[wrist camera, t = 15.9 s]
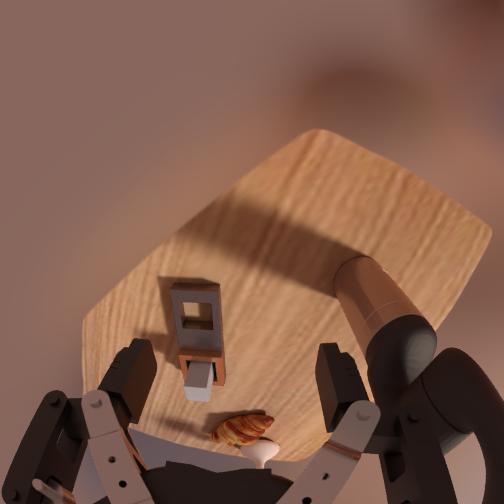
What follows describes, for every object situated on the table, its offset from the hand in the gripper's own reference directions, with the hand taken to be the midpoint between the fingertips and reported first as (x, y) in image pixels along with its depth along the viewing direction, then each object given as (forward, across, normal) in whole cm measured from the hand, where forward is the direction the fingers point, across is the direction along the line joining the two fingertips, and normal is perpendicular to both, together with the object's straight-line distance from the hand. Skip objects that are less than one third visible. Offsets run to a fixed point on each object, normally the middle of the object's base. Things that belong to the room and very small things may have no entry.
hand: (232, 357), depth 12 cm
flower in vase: (+31, -2, +67) cm, 74 cm away
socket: (+31, +9, +24) cm, 40 cm away
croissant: (+31, +4, +55) cm, 63 cm away
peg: (+31, +9, +30) cm, 44 cm away
